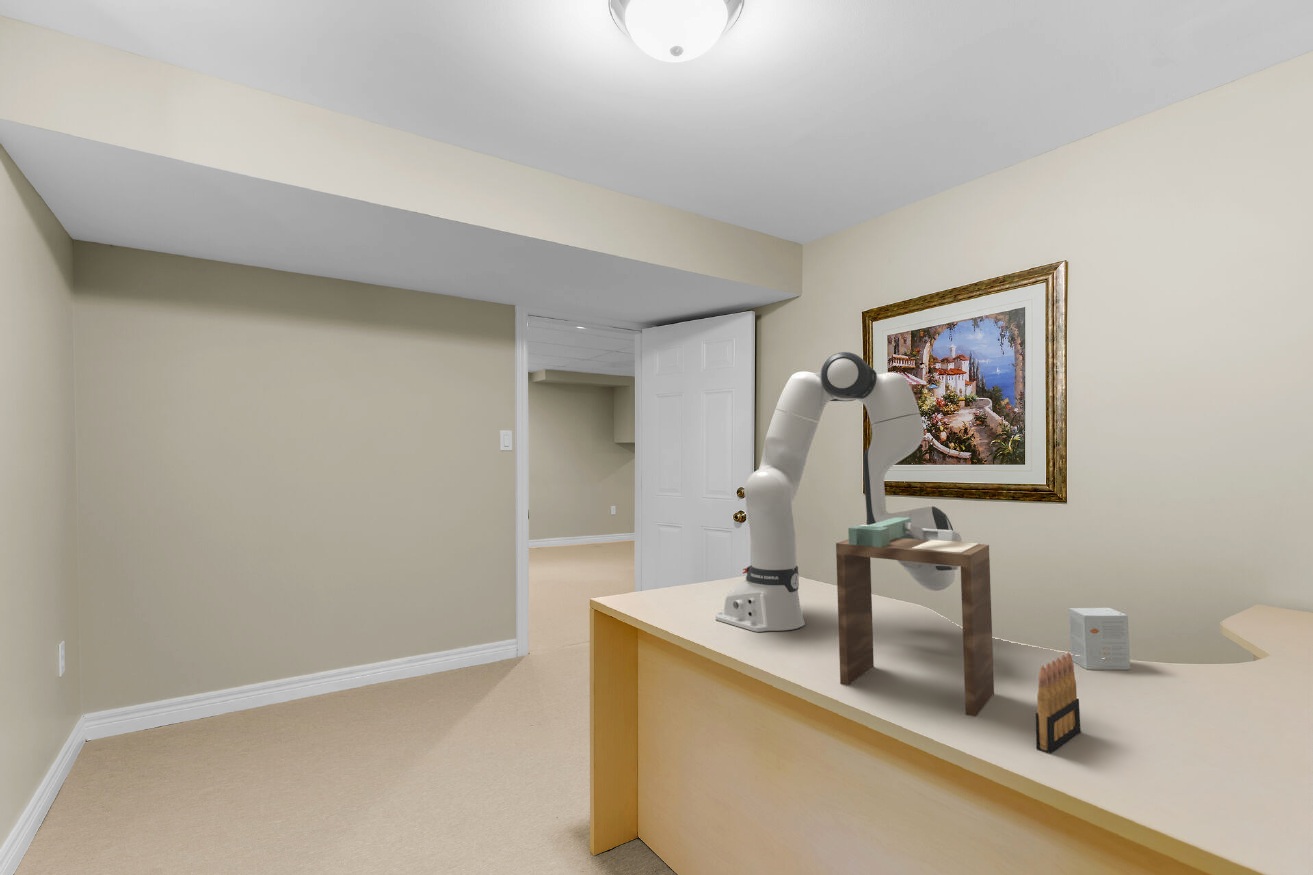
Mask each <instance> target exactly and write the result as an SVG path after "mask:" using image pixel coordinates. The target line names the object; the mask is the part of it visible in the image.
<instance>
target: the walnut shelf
mask: <svg viewBox="0 0 1313 875" xmlns="http://www.w3.org/2000/svg"><path fill="white" fill-rule="evenodd" d="M835 549H836V550H835V552H836V553H835V554H836V558H835V559H836V580H837V581H836V585H837V615H838V616H837V617H838V618H837V619H838V620H837V621H838V648H839V650H838V654H839V678H840V679H839V681H840V682H839V683H840V684H841V685H845V686H849V685H851V684H852V683H854V682H855V681H857V679H859V678H861V677H862V676H863V675H865V674H866V673H868V672H869V671H870V670H872V669H873V668H875V666H874V664H875V663H874V658H875V657H874V637H873V636H874V630H873V604H872V602H873V601H872V600H873V599H872V573H871V572H872V571H871V570H872V569H871V558H873V559H883V560H892V561H897V560H901V561H911V562H921V563H931V564H941V565H951V566H959V567H960V585H961V586H960V587H961V588H960V589H961V590H960V591H961V592H960V593H961V613H962V614H961V616H962V618H961V619H962V645H963V646H962V647H963V670H964V671H963V673H964V706H965V707H964V708H965V715H966V716H970V717H975V718H976V717H977V716H978V715H979V713H980V712H981V711H982V710H983V708H984V707H985V706H986V704H987V703H988V702H989V701H990V699H991V698H992V696H994V694H995V683H994V682H995V679H994V654H993V653H994V652H993V646H994V645H993V624H992V623H993V619H992V616H993V615H992V594H991V591H992V590H991V563H990V561H991V560H990V559H991V558H990V544H981V543H977V542H967V541H966V542H965V541H963V542H962V541H961V542H953V541H940V540H919V539H906V538H896V539H893V540H890V544H889V545H886V546H883V547H873V546H862V545H850V544H849V538H848V539H845V540H842V541H839V542H836V543H835Z"/></svg>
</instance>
